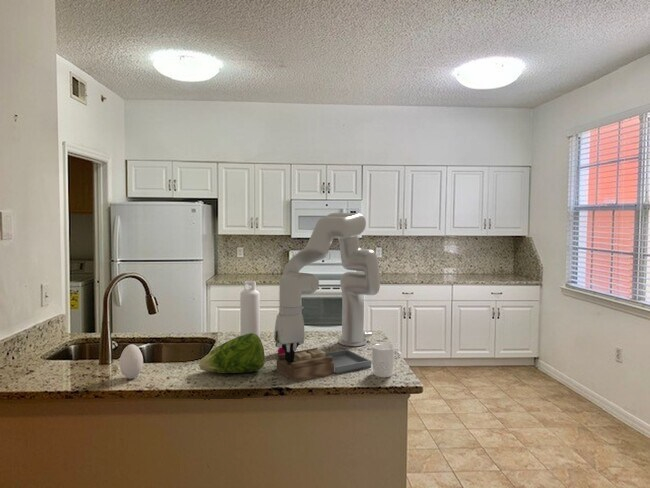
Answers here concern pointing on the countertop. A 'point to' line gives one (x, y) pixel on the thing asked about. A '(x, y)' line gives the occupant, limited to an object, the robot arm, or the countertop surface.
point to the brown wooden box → (305, 367)
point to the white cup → (383, 359)
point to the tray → (348, 361)
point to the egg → (131, 361)
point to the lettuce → (235, 356)
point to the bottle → (250, 309)
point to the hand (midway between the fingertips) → (289, 361)
